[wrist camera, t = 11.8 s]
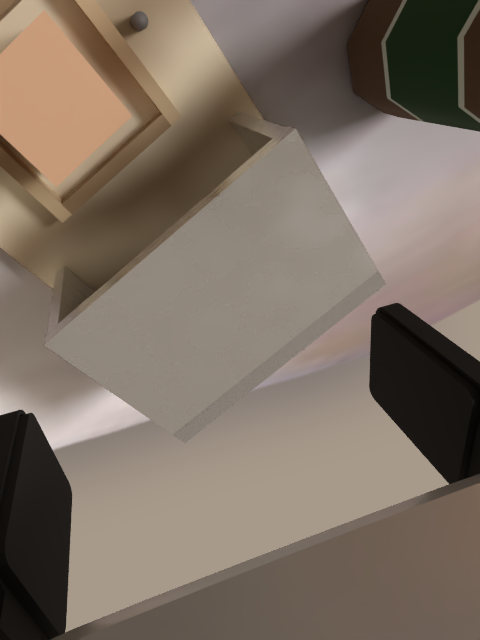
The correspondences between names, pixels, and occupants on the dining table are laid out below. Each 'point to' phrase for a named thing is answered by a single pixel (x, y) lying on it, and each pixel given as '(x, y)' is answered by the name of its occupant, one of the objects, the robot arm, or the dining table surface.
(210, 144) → the housing base
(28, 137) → the jaw block
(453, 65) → the beer bottle
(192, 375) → the cover
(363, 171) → the dining table surface
